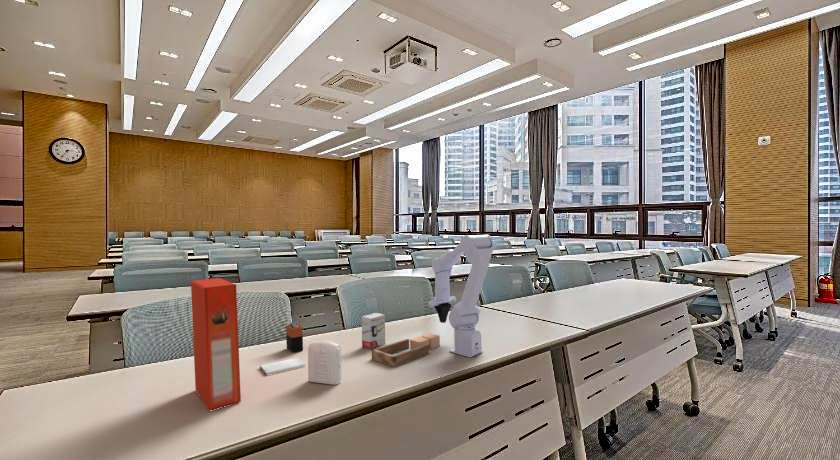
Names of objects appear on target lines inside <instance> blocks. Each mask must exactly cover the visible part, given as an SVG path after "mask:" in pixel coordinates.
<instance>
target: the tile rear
mask: <svg viewBox="0 0 840 460" xmlns="http://www.w3.org/2000/svg"><path fill="white" fill-rule="evenodd" d="M420 337H423V338H426V339H429V350H431V349H434V348H438V347H440V346H441V343H440V342H441V341H440V340H441V338H440V335H438V334H435V333H426V334H424V335H421V336H420Z"/></svg>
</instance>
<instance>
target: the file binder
mask: <svg viewBox="0 0 840 460" xmlns="http://www.w3.org/2000/svg"><path fill="white" fill-rule="evenodd" d="M190 289H191V290H190V292H191V293H190V296H191V313H192V314H191V315H192V317H191V318H192V335H193V338H192V339H193V358H194V360H193V361H194V362H193V363H194V379H195V380H194V381H195V382H194V383H195V384H194V385H195V386H194V387H195V391H196V390H197V391H196V392H198V393H197V394H198V396H199V395H200V396H199V397H200V399H201V401H202V400H203V401H202V402H203V404H204V405H205V407H206V409H207V411H208V412H211V411H210V410H213V411H215V410H214V409H217V408H220V407H223V408H225V407H224V406H227V407H229V406H228V405H230V406H232V405H236V403H237V404H239V403H240V402H241V401H242V400H241V399H242V398H241V397H242V395H241V374H240V373H241V372H240V371H241V370H240V350H239V349H240V346H239V325H238V324H239V320H238V298H237V295H238V294H237V284H236V283H234V282H230V281H229V280H226V279H223V278H221V277H215V278H206V279H197V280H191V281H190ZM220 409H221V408H220ZM217 410H218V409H217Z"/></svg>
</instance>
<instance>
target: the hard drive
mask: <svg viewBox="0 0 840 460" xmlns="http://www.w3.org/2000/svg"><path fill="white" fill-rule="evenodd" d="M305 367H306V365H305V363H304V362H303V361H302V360H301V359H299V358H298V357H294V358H289V359H286V360H279V361H275V362H271V363H266V364H262V365H259V369H260V368H261V369H262V370H263V371H262V370H261V369H260V370H261V371H262V372H263V374H264V373H265V374H266V375H268V376H270V375H269V374H272V375H275V374H274V373H276V374H279V373H278V372H280V373H284V372H283V371H285V372H289V371H292V370H297V369H302V368H305ZM296 368H297V369H296ZM288 370H289V371H288ZM265 374H264V375H265ZM266 375H265V376H266Z"/></svg>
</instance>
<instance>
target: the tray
mask: <svg viewBox="0 0 840 460" xmlns="http://www.w3.org/2000/svg"><path fill="white" fill-rule="evenodd" d="M407 349H409V350H407ZM404 350H406V351H404ZM401 351H402V352H401ZM398 352H400V353H398ZM395 353H396V354H395ZM393 354H394V355H393ZM429 354H430V348H429V345H428V344H426V345H423V346H420V347H417V348H414V349H411V350H410V339H409V338H405V339H402V340H399V341H396V342H393V343H390V344H385V345H381V346H378V347H375V348H373V349H371V360H373V361H376V362H378V363H382V364H385V365H387V366H390V367H393V368H395V367H397V366H400V365H402V364H405V363H407V362H411V361H414V360H416V359H419V358H422V357H424V356H427V355H429Z"/></svg>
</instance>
